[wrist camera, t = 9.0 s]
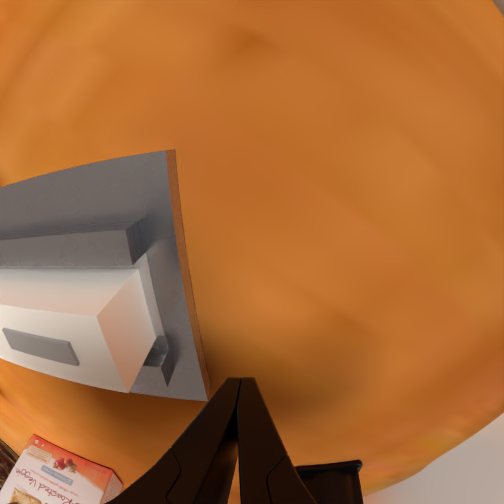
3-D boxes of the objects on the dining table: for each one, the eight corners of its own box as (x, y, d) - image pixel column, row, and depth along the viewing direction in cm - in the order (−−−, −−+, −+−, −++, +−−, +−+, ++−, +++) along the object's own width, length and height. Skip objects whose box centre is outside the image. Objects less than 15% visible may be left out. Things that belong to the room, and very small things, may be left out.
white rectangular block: (138, 268, 13) (92, 320, 9) (156, 338, 14) (126, 398, 10) (-5, 268, 14) (-46, 298, 10) (14, 319, 15) (-20, 353, 11)
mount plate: (175, 149, 12) (151, 152, 9) (210, 387, 17) (203, 420, 14) (-46, 204, 13) (-68, 214, 11) (3, 348, 19) (-12, 364, 16)
